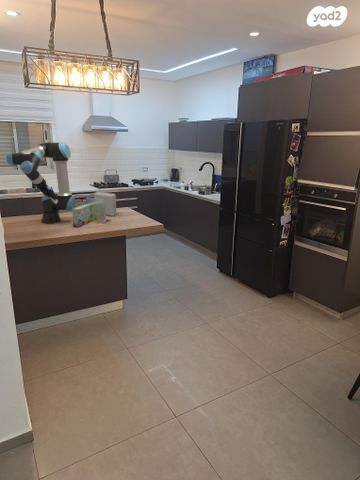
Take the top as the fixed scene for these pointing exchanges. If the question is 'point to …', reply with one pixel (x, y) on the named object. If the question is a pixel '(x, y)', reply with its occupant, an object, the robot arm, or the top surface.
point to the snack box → (81, 215)
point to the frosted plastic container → (97, 210)
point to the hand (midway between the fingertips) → (56, 202)
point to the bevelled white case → (108, 202)
